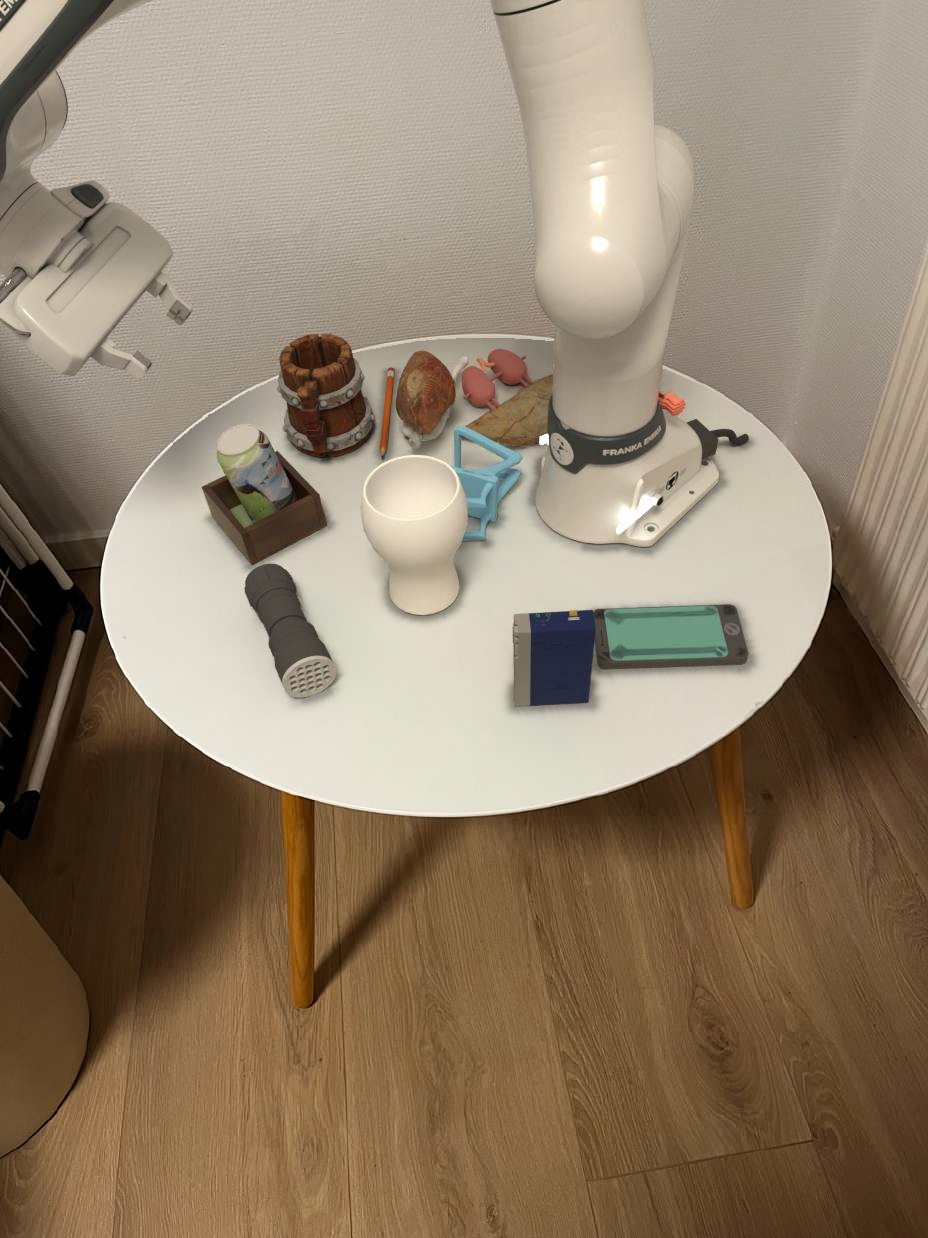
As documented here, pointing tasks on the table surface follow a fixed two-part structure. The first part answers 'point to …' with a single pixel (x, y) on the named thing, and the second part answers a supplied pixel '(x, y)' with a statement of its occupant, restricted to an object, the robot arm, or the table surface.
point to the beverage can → (254, 471)
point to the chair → (484, 479)
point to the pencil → (386, 412)
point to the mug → (323, 396)
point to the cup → (416, 529)
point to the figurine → (414, 434)
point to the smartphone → (669, 636)
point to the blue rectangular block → (553, 657)
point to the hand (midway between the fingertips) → (167, 344)
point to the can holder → (273, 529)
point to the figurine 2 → (503, 366)
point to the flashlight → (289, 632)
